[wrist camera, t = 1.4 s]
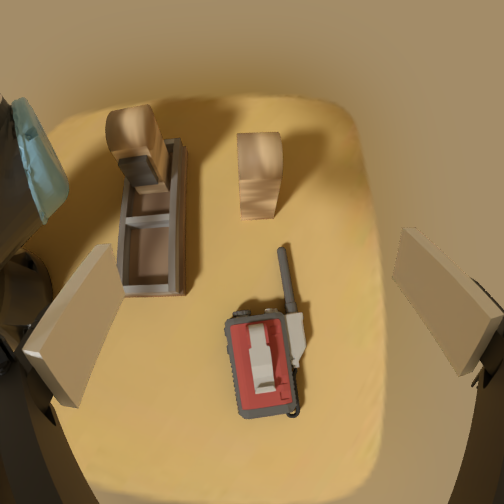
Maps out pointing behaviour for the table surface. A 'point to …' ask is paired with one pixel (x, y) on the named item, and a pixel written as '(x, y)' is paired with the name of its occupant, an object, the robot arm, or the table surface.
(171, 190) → the rail
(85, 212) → the table surface
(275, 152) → the block
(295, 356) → the walkie-talkie
